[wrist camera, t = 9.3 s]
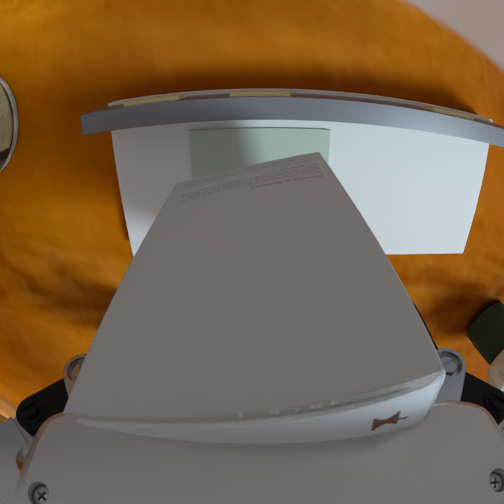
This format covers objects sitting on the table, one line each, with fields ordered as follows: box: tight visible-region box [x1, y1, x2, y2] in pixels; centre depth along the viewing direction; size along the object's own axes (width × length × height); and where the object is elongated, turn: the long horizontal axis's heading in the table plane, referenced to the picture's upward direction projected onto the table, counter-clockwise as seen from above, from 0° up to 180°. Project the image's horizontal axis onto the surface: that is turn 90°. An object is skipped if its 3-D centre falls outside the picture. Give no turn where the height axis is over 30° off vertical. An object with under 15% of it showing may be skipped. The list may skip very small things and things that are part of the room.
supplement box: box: [63, 152, 446, 444], centre depth 11 cm, size 7×7×13 cm
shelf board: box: [108, 88, 492, 256], centre depth 22 cm, size 12×28×2 cm, turn 91°
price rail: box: [80, 90, 504, 147], centre depth 17 cm, size 1×28×4 cm, turn 91°
